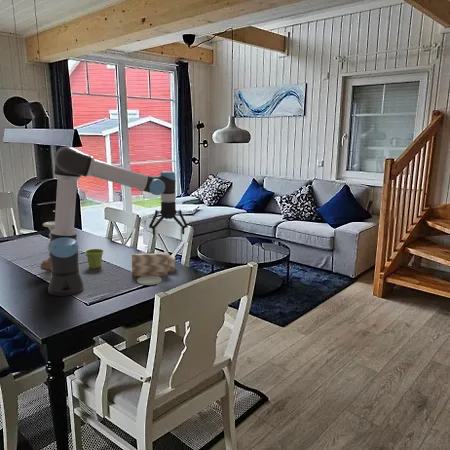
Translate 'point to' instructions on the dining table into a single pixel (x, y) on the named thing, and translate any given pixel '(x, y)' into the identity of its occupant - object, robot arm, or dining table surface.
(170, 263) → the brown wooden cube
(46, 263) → the candle holder
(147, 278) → the sage mat
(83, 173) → the robot arm
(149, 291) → the dining table surface
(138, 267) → the birch screen
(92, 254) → the plant pot
